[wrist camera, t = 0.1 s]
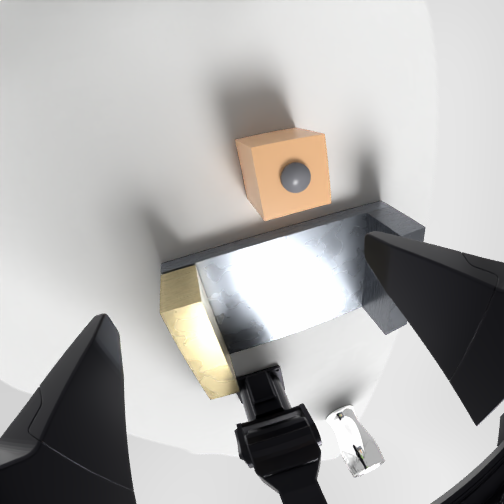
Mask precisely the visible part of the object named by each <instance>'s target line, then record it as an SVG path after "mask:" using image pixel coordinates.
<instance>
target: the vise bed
mask: <svg viewBox="0 0 504 504" xmlns="http://www.w3.org/2000/svg"><path fill="white" fill-rule="evenodd" d="M373 231H378V232H383V233H387V234H391V235H396V236H400V237H404V238H408V239H412V240H417V241H421V242H423V241H424V234H425V227H424V226H423V225H421V224H419V223H418V222H416V221H415V220H413V219H411V218H410V217H408V216H406V215H405V214H403V213H402V212H400V211H398V210H396V209H395V208H393V207H391V206H390V205H388V204H386V203H384V202H383V201H378V202H374V203H371V204H367V205H363V206H360V207H356V208H352V209H349V210H345V211H341V212H338V213H334V214H331V215H327V216H323V217H320V218H316V219H313V220H309V221H306V222H302V223H299V224H295V225H292V226H288V227H284V228H281V229H277V230H274V231H271V232H267V233H264V234H260V235H257V236H253V237H250V238H246V239H243V240H239V241H236V242H233V243H229V244H226V245H222V246H219V247H216V248H212V249H209V250H206V251H202V252H199V253H195V254H192V255H189V256H185V257H182V258H179V259H175V260H172V261H169V262H166V263H162V264H161V274H162V275H163V274H166V273H169V272H173V271H176V270H179V269H183V268H186V267H189V266H193V265H196V267H197V270H198V273H199V276H200V279H201V281H202V284H203V287H204V290H205V292H206V295H207V298H208V300H209V303H210V306H211V308H212V311H213V314H214V316H215V319H216V322H217V324H218V327H219V329H220V332H221V334H222V337H223V339H224V342H225V344H226V347H227V349H228V352H229V354H231V353H234V352H238V351H241V350H244V349H248V348H251V347H254V346H257V345H260V344H263V343H266V342H269V341H273V340H275V339H278V338H281V337H284V336H287V335H290V334H293V333H296V332H298V331H301V330H304V329H307V328H309V327H312V326H315V325H317V324H320V323H323V322H325V321H328V320H330V319H333V318H336V317H338V316H341V315H343V314H346V313H348V312H350V311H353V310H355V309H358V308H360V307H363V308H364V310H365V311H366V312H367V313H368V314H369V316H370V317H371V318H372V319H373V320H374V322H375V323H376V324H377V325H378V327H379V328H380V329H381V330H382V331H383V333H384V334H385V335H387V334H389V333H390V332H392V331H394V330H396V329H398V328H400V327H402V326H404V325H406V324H407V319H406V318H405V317H404V315H403V314H402V313H401V311H400V310H399V309H398V307H397V306H396V305H395V303H394V302H393V301H392V300H391V298H390V297H389V296H388V294H387V293H386V291H385V290H384V288H383V287H382V285H381V284H380V282H379V281H378V279H377V277H376V276H375V274H374V273H373V271H372V270H371V268H370V267H369V265H368V263H367V262H366V260H365V257H364V238H365V235H366V234H367V233H370V232H373Z"/></svg>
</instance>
